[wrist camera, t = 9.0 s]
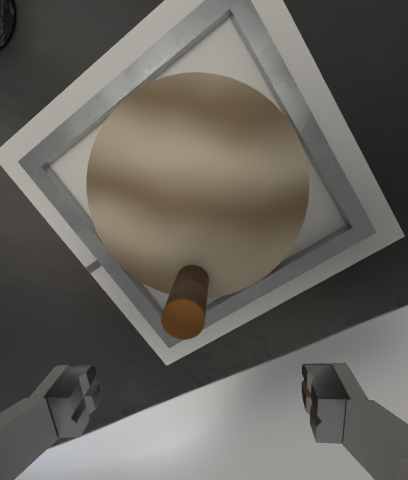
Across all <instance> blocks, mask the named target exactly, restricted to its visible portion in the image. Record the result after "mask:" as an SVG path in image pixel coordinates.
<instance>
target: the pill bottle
mask: <svg viewBox="0 0 408 480" xmlns="http://www.w3.org/2000/svg"><path fill="white" fill-rule="evenodd" d="M13 21H14V6H13V3H12V0H0V47H1V46H2V45H3V44H4V43H5V42H6V41H7V39H8V37H9V35H10V33H11V31H12V27H13Z"/></svg>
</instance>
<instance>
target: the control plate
mask: <svg viewBox="0 0 408 480" xmlns="http://www.w3.org/2000/svg"><path fill="white" fill-rule="evenodd" d="M190 72H203V73H213V74H218V75H222V76H226V77H230V78H233V79H236V80H238V81H240V82H243V83H245V84H247V85H249V86H251V87H252V88H254V89H256V90H257V91H259V92H260V93H262V94H263V95H264V96H265V97H267V98H268V99H269V100H270V101H272V102H273V103H274V104H275V105H276V106H277V108H278V109H279V110H280V111H281V112H282V113H283V114H284V115H285V117H286V118H287V120H288V121H289V123H290V124H291V125H292V127H293V128H294V130H295V132H296V134H297V136H298V138H299V140H300V142H301V145H302V148H303V151H304V154H305V157H306V162H307V167H308V173H309V200H308V207H307V212H306V216H305V220H304V223H303V225H302V228H301V231H300V233H299V235H298V237H297V239H296V241H295V243H294V245H293V246H292V248H291V249H290V251H289V252H288V254H287V255H286V257H285V258H284V259H283V260H282V261H281V262H280V263H279V265H278V266H277V267H276V268H275V269H273V270H272V271H271V272H270V273H269V274H268V275H267V276H265V277H264V278H262V279H261V280H259V281H258V282H256V283H255V284H253V285H251V286H249V287H247V288H245V289H243V290H240V291H238V292H235V293H232V294H229V295H225V296H220V297H214V298H207V305H206V315H205V324H204V328H203V330H202V331H201V333H200V334H199V335H197V336H196V337H194V338H192V339H187V340H182V339H177V338H174V337H172V336H170V335H169V334H168V333H167V332H166V331H165V330H164V328H163V326H162V323H161V315H162V312H163V310H164V307H165V305H166V302H167V300H168V297H169V294H166V293H163V292H161V291H158V290H155V289H153V288H151V287H149V286H147V285H145V284H143V283H142V282H140V281H139V280H137V279H136V278H134V277H133V276H131V275H130V274H129V273H128V272H127V271H126V270H124V269H123V268H122V267H121V266H120V265H119V264H118V263H117V262H116V260H115V259H114V258H113V257H112V256H111V255H110V253H109V252H108V250H107V249H106V248H105V246H104V245H103V243H102V241H101V239H100V237H99V236H98V234H97V231H96V229H95V226H94V224H93V221H92V218H91V214H90V211H89V207H88V200H87V191H86V177H87V167H88V161H89V157H90V153H91V149H92V147H93V144H94V142H95V139H96V136H97V134H98V133H99V131H100V129H101V127H102V125H103V124H104V122H105V121H106V119H107V118H108V117H109V115H110V114H111V113H112V111H113V110H114V109H115V108H116V107H117V106H118V105H119V104H120V103H121V102H122V101H123V100H124V99H125V98H126V97H128V96H129V95H130V94H132V93H133V92H134V91H136V90H137V89H139V88H141V87H142V86H144V85H146V84H148V83H150V82H152V81H155V80H157V79H160V78H163V77H166V76H170V75H175V74H180V73H190ZM0 165H1V166H2V167H3V169H4V170H5V171H6V172H7V173H8V175H9V176H10V177H11V178H12V179H13V181H14V182H15V183H16V184H17V185H18V187H19V188H20V189H21V190H22V191H23V193H24V194H25V195H26V196H27V198H28V199H29V200H30V201H31V202H32V204H33V205H34V206H35V207H36V208H37V210H38V211H39V212H40V213H41V214H42V216H43V217H44V218H45V219H46V220H47V222H48V223H49V224H50V225H51V227H52V228H53V229H54V230H55V231H56V233H57V234H58V235H59V236H60V237H61V239H62V240H63V241H64V242H65V243H66V245H67V246H68V247H69V248H70V249H71V251H72V252H73V253H74V254H75V256H76V257H77V258H78V259H79V260H80V262H81V263H82V264H83V265H84V266H85V268H86V269H87V271H88V272H89V273H90V274H91V275H92V276H93V277H94V278H95V280H96V281H97V282H98V283H99V285H100V286H101V287H102V288H103V289H104V291H105V292H106V293H107V294H108V295H109V297H110V298H111V299H112V300H113V301H114V303H115V304H116V305H117V306H118V307H119V309H120V310H121V311H122V312H123V314H124V315H125V316H126V317H127V318H128V320H129V321H130V322H131V323H132V324H133V326H134V327H135V328H136V329H137V330H138V332H139V333H140V334H141V335H142V336H143V338H144V339H145V340H146V341H147V343H148V344H149V345H150V346H151V347H152V349H153V350H154V351H155V352H156V353H157V355H158V356H159V357H160V358H161V359H162V361H163V362H164V363H165V364H166V365H169V364H171V363H173V362H175V361H176V360H178V359H180V358H182V357H184V356H186V355H187V354H189V353H191V352H193V351H195V350H197V349H198V348H200V347H202V346H204V345H206V344H208V343H210V342H211V341H213V340H215V339H217V338H219V337H221V336H222V335H224V334H226V333H228V332H230V331H232V330H233V329H235V328H237V327H239V326H241V325H243V324H244V323H246V322H248V321H250V320H252V319H254V318H256V317H257V316H259V315H261V314H263V313H265V312H267V311H268V310H270V309H272V308H274V307H276V306H278V305H279V304H281V303H283V302H285V301H287V300H289V299H290V298H292V297H294V296H296V295H298V294H300V293H301V292H303V291H305V290H307V289H309V288H311V287H313V286H314V285H316V284H318V283H320V282H322V281H324V280H325V279H327V278H329V277H331V276H333V275H335V274H336V273H338V272H340V271H342V270H344V269H346V268H347V267H349V266H351V265H353V264H355V263H357V262H359V261H360V260H362V259H364V258H366V257H368V256H370V255H371V254H373V253H375V252H377V251H379V250H381V249H382V248H384V247H386V246H388V245H390V244H392V243H393V242H395V241H397V240H399V239H401V238H403V237H405V235H404V234H403V232H402V230H401V228H400V226H399V224H398V222H397V220H396V218H395V216H394V214H393V212H392V210H391V208H390V206H389V204H388V203H387V201H386V199H385V197H384V195H383V193H382V191H381V189H380V187H379V185H378V183H377V181H376V179H375V177H374V175H373V174H372V172H371V170H370V168H369V166H368V164H367V162H366V160H365V158H364V156H363V154H362V152H361V150H360V148H359V146H358V145H357V143H356V141H355V139H354V137H353V135H352V133H351V131H350V129H349V127H348V125H347V123H346V121H345V119H344V117H343V116H342V114H341V112H340V110H339V108H338V106H337V104H336V102H335V100H334V98H333V96H332V94H331V92H330V90H329V88H328V86H327V85H326V83H325V81H324V79H323V77H322V75H321V73H320V71H319V69H318V67H317V65H316V63H315V61H314V59H313V57H312V56H311V54H310V52H309V50H308V48H307V46H306V44H305V42H304V40H303V38H302V36H301V34H300V32H299V30H298V28H297V27H296V25H295V23H294V21H293V19H292V17H291V15H290V13H289V11H288V9H287V7H286V5H285V3H284V1H283V0H165V1H163V2H162V3H161V4H160V5H159V6H158V7H157V8H156V9H154V10H153V11H152V12H151V13H150V14H149V15H148V16H147V17H146V18H144V19H143V20H142V21H141V22H140V23H139V24H138V25H137V26H135V27H134V28H133V29H132V30H131V31H130V32H129V33H128V34H127V35H125V36H124V37H123V38H122V39H121V40H120V41H119V42H118V43H116V44H115V45H114V46H113V47H112V48H111V49H110V50H109V51H108V52H106V53H105V54H104V55H103V56H102V57H101V58H100V59H99V60H98V61H96V62H95V63H94V64H93V65H92V66H91V67H90V68H89V69H87V70H86V71H85V72H84V73H83V74H82V75H81V76H80V77H79V78H77V79H76V80H75V81H74V82H73V83H72V84H71V85H70V86H68V87H67V88H66V89H65V90H64V91H63V92H62V93H61V94H60V95H58V96H57V97H56V98H55V99H54V100H53V101H52V102H51V103H49V104H48V105H47V106H46V107H45V108H44V109H43V110H42V111H41V112H39V113H38V114H37V115H36V116H35V117H34V118H33V119H32V120H30V121H29V122H28V123H27V124H26V125H25V126H24V127H23V128H22V129H20V130H19V131H18V132H17V133H16V134H15V135H14V136H13V137H12V138H10V139H9V140H8V141H7V142H6V143H5V144H4V145H3V146H1V147H0Z"/></svg>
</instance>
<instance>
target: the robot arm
mask: <svg viewBox="0 0 408 480" xmlns="http://www.w3.org/2000/svg"><path fill="white" fill-rule="evenodd" d="M302 374H303V377H304V381H303V382H302V397H303V402H304V406H305V409H306V412H307V413H308V414H309V415H310V425H311V428H312V431H313V434H314V437H315V440H316V442H321V443H341V444H343V446H344V447H345V448H346V449H347V450H348V451H349V452H350V453H351V454H352V455H353V456H354V458H355V459H356V460H357V461H358V462H359V463H360V464H361V465H362V466H363V467H364V468H365V469H366V471H367V472H368V473H369V474H370V475H371V476H372V477H373V478H374V479H375V480H408V424H407V423H405V422H404V421H402V420H401V419H400V418H398V417H397V416H395V415H394V414H392V413H391V412H390V411H388V410H387V409H385V408H384V407H382V406H381V405H379V404H378V403H377V402H375V401H374V400H368V398H367V396H366V395H365V393H364V391H363V390H362V388H361V387H360V385H359V383H358V382H357V380H356V378H355V377H354V375H353V373H352V372H351V370H350V368H349V367H348V365H347V364H346V363H331V364H303V366H302ZM96 375H97V370H96V367H95V366H91V365H58V366H56V367H54V369H53V370H52V371H51V372H50V373H49V375H48V376H47V377H46V378H45V379H44V380H43V382H42V383H41V384H40V385H39V386H38V388H37V389H36V390H35V391H34V392H33V394H32V395H31V396H30V397H29V398H24V399H23V400H21V401H19V402H18V403H16V404H14V405H13V406H11V407H9V408H8V409H6V410H5V411H3V412H1V413H0V480H14V479H15V478H16V477H17V476H18V475H20V474H21V473H22V472H23V471H24V470H25V469H26V468H27V467H28V466H29V465H30V464H31V463H32V462H34V461H35V460H36V459H37V458H38V457H39V456H40V455H41V454H42V453H43V452H44V451H46V450H47V449H48V448H49V447H50V446H51V445H52V444H53V443H54V442H55V441H56V440H57V439H58V438H60V437H81V435H82V433H83V431H84V429H85V427H86V426H87V424H88V422H89V414H90V413H91V412H92V411H94V410H95V409H96V407H97V405H98V403H99V399H100V395H101V387H100V383H99V382H98V381H97V380H96V379H95V377H96Z"/></svg>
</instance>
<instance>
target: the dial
mask: <svg viewBox="0 0 408 480" xmlns="http://www.w3.org/2000/svg"><path fill="white" fill-rule="evenodd" d="M86 191H87V200H88V207H89V211H90V214H91V218H92V221H93V224H94V226H95V229H96V231H97V234H98V236H99V237H100V239H101V241H102V243H103V245H104V246H105V248H106V249H107V250H108V252H109V253H110V255H111V256H112V257H113V258H114V259H115V260H116V262H117V263H118V264H119V265H120V266H121V267H122V268H123V269H124V270H126V271H127V272H128V273H129V274H130V275H131V276H133V277H134V278H136V279H137V280H139V281H140V282H142V283H143V284H145V285H147V286H149V287H151V288H153V289H155V290H158V291H161V292H163V293H166V294H169V297H168V300H167V302H166V305H165V307H164V310H163V312H162V315H161V323H162V326H163V328H164V330H165V331H166V332H167V333H168V334H169V335H170V336H172V337H174V338H177V339H182V340H187V339H192V338H194V337H196V336H197V335H199V334H200V333H201V331H202V330H203V328H204V324H205V315H206V305H207V298H214V297H220V296H225V295H229V294H232V293H235V292H238V291H240V290H243V289H245V288H247V287H249V286H251V285H253V284H255V283H256V282H258V281H259V280H261V279H262V278H264V277H265V276H267V275H268V274H269V273H270V272H271V271H272V270H273V269H275V268H276V267H277V266H278V265H279V263H280V262H281V261H282V260H283V259H284V258H285V257H286V255H287V254H288V252H289V251H290V249H291V248H292V246H293V245H294V243H295V241H296V239H297V237H298V235H299V233H300V231H301V228H302V225H303V223H304V220H305V216H306V212H307V207H308V200H309V173H308V167H307V162H306V157H305V154H304V151H303V148H302V145H301V142H300V140H299V138H298V136H297V134H296V132H295V130H294V128H293V127H292V125H291V124H290V123H289V121H288V120H287V118H286V117H285V115H284V114H283V113H282V112H281V111H280V110H279V109H278V108H277V106H276V105H275V104H274V103H273V102H272V101H270V100H269V99H268V98H267V97H265V96H264V95H263V94H262V93H260V92H259V91H257V90H256V89H254V88H252V87H251V86H249V85H247V84H245V83H243V82H240V81H238V80H236V79H233V78H230V77H226V76H222V75H218V74H213V73H203V72H190V73H180V74H175V75H170V76H166V77H163V78H160V79H157V80H155V81H152V82H150V83H148V84H146V85H144V86H142V87H141V88H139V89H137V90H136V91H134V92H133V93H132V94H130V95H129V96H128V97H126V98H125V99H124V100H123V101H122V102H121V103H120V104H119V105H118V106H117V107H116V108H115V109H114V110H113V111H112V113H111V114H110V115H109V117H108V118H107V119H106V121H105V122H104V124H103V125H102V127H101V129H100V131H99V133H98V134H97V136H96V139H95V142H94V144H93V147H92V149H91V153H90V157H89V161H88V167H87V177H86Z"/></svg>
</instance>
